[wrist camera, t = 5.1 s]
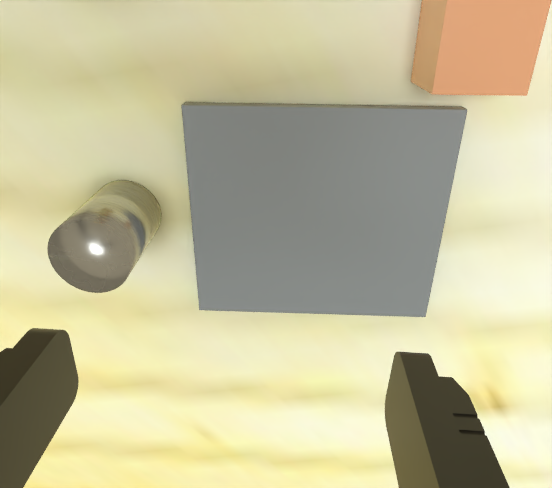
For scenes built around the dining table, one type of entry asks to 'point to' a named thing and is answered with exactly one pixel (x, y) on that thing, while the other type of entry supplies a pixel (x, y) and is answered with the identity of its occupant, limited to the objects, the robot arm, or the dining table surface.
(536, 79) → the dining table surface
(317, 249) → the slate board
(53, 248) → the grey metal cylinder
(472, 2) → the terracotta block
